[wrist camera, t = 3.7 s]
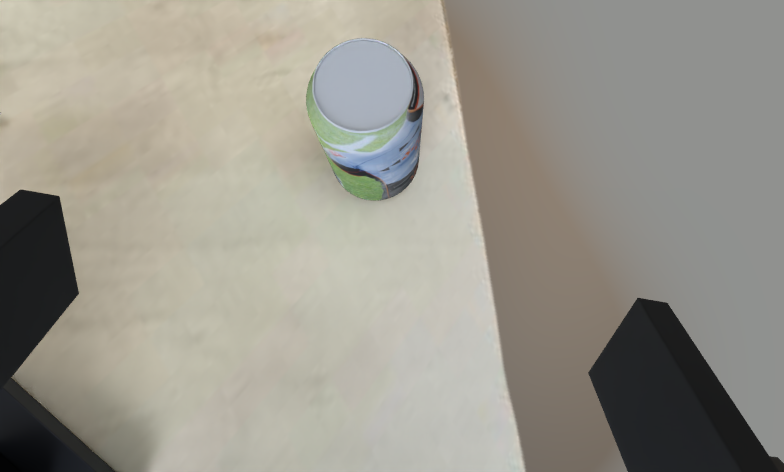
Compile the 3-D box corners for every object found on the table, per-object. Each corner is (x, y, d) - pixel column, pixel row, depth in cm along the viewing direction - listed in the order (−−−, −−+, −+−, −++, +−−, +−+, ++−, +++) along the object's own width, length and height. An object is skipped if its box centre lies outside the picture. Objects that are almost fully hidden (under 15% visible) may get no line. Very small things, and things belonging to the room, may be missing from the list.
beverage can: (419, 201, 35) (465, 141, 23) (315, 208, 34) (309, 150, 22) (409, 118, 36) (449, 21, 24) (308, 122, 35) (299, 23, 23)
